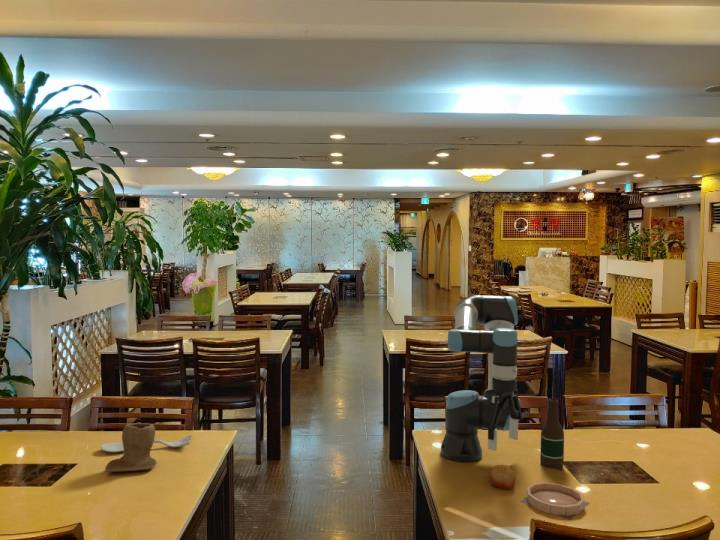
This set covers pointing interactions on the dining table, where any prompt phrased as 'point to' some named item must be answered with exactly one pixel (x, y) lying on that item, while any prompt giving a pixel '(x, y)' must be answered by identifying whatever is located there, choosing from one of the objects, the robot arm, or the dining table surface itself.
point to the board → (558, 515)
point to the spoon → (178, 443)
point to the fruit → (502, 477)
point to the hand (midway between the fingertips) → (503, 444)
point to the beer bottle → (552, 439)
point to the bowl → (555, 499)
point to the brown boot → (135, 449)
